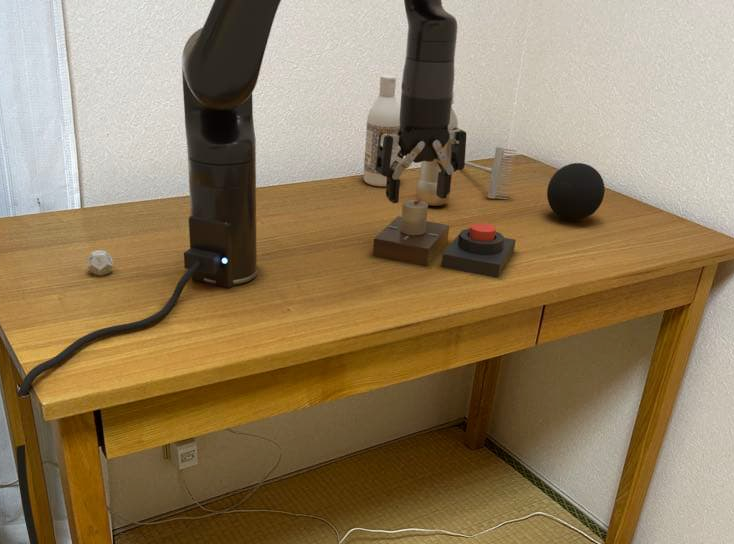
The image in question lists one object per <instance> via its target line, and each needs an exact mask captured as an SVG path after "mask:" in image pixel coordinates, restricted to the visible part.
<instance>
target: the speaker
mask: <svg viewBox="0 0 734 544" xmlns="http://www.w3.org/2000/svg"><path fill="white" fill-rule="evenodd" d="M546 198H547V202H548V205H549V207H550V208H551V210H552V211H553V212H554V213H555V214H556V215H557V216H558V217H560V218H562V219H564V220H568V221H580V220H584V219H587V218H589V217H590V216H592V215H594V213H596V212H597V211H598V209H599V208H600V207H601V205H602V203H603V200H604V198H605V182H604V178H603V177H602V175H601V174H600V172H599V171H598V170H597V169H596V168H594V167H593V166H592V165H589V164H586V163H583V162H573V163H572V162H571V163H569V164H566V165H564V166H562V167H560V168H559V169H558V170H556V172H555V173H554V174H553V175H552V176H551V178H550V180H549V182H548V184H547V190H546Z"/></svg>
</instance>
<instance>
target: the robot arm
mask: <svg viewBox="0 0 734 544" xmlns="http://www.w3.org/2000/svg"><path fill="white" fill-rule="evenodd" d="M281 2H282V0H214V1H213V3H212V5H211V8H210V10H209V13H208V15H207V17H206V20H205V22H204V23H203V26H202V27H201V28H199V29H197V30H196V31H194V32H193V33H192V34H191V35H190V37H188V39H187V41H186V42H185V45H184V47H183V49H182V54H181V79H182V95H183V109H184V110H183V111H184V128H185V139H186V149H187V167H188V189H189V209H190V216H189V217H188V234H189V235H188V236H189V249H187V250H185V251H184V252H183V263H184V269H185V270H186V272H185V273H184V274H183V275H182V277H181V278H180V280H179V281H178V282H177V284H176V287H175V289H174V291H173V293H172V294H171V296H170V298H169V299H168V301H167V302H166V303H165V305H164V306H163V308H162V309H161V310H159V311H158V312H156V313H154V314H152V315H151V316H148V317H146V318H143V319H141V320H137V321H133V322H132V321H131V322H128V323H123V324H117V325H112V326H107V327H103V328H100V329H96V330H94V331H92V332H90V333H87V334H85V335H83V336H82V337H80V338H78V339H77V340H75V341H74V342H72V343H71V344H70V345H68V346H67V347H66V348H65V349H63V350H62V351H61V352H59V353H58V354H57V355H55V356H53V357H52V358H51V359H48V360H46V361H43V362H42V363H39V364H38V365H36V366H34V367H33V368H32V369H30V370H29V372H27V374H26V376H25V377H24V378H23V380H22V382H21V384H20V386H19V389H18V392H17V396H18V397H24V396H26V395H28V393H29V390H30V388H31V386H32V384H33V383H34V381H35V380H36V379H37V378H38V377H39V376H40V375H41V374H43V373H45V372H47V371H49V370H51V369H54V368H55V367H57V366H59V365H60V364H62V363H64V361H66V360H67V359H68V358H70V357H71V356H72V355H73V354H74V353H76V352H77V351H78V350H80V349H81V348H82V347H84V346H86V345H87V344H89V343H91V342H93V341H96V340H98V339H100V338H103V337H107V336H110V335H114V334H120V333H126V332H130V331H136V330H139V329H143V328H146V327H149V326H151V325H154V324H155V323H157V322H159V321H161V320H162V319H164V318H165V317H166V316H167V315H168V314H169V313H170V312H171V311H172V309H173V308H174V306H175V304H176V303H177V302H178V300H179V299H180V297H181V295H182V293H183V290H184V288H185V287H186V285H187V283H188V282H189V280H190V279H191V280H192V281H195V282H200V283H204V284H209V285H212V286H213V285H214V286H219V287H222V288H227V289H229V288H231V287H233V286H237V285H241V284H246V283H248V282H251V281H253V280H254V279H255V278H256V277H257V276H258V261H257V259H258V258H257V257H258V256H257V254H258V253H257V252H258V251H257V248H258V247H257V157H256V156H257V140H256V138H257V137H256V132H255V124H254V113H253V112H254V110H253V103H254V101H253V93H254V90H255V89H256V86H257V83H258V81H259V76H260V72H261V69H262V64H263V60H264V56H265V52H266V49H267V45H268V42H269V38H270V34H271V31H272V28H273V24H274V21H275V18H276V15H277V12H278V9H279V7H280V4H281ZM403 2H404V4H403V5H404V11H405V15H406V20H407V21H406V22H407V36H406V48H405V49H406V50H405V60H404V66H403V70H402V80H401V85H400V86H401V93H400V105H399V106H400V129H399V131H398V133H397V134H386V133H385V132H381V133H380V134H379V140H378V149H377V158H376V167H375V170H376V171H377V172H378V173H380V174H381V175H383V176H385V177H386V178H387V181H386V187H385V196H386V198H387V199H388V201H389V202H391V203H392V204H398V203H399V198H400V185H401V180H400V177H401V176H402V175H403V173H404V171H405V170H406V169H408V168H410V167H411V165H412V163H416V164H417V163H419V164H420V163H422V161H428V162H431V161H433V160H435V162H436V163H437V165H438V166H439V168H440V170H441V172H438V181H437V191H436V194H437V196H438V197H440V198H441V199H443V198H446V197H447V194H449V192H450V185H451V186H452V176H453V174H454V173H455V172H457V171H463V170H464V169H465V166H466V165H465V161H466V150H467V149H466V148H467V132H466V131H465V130H463V129H461V128H459V127H458V128H453V130H450V131H448V125H449V123H450V115H451V105H452V106H453V104H452V96H453V92H454V87H455V85H454V84H455V59H456V58H455V57H456V50H457V49H456V47H457V39H458V21H457V19H456V17H454V15H452V13H449V12H448V11H446V10H445V9H444V7H443V1H442V0H403ZM448 140H449V141H450V143H451V157H450V162H449V158H448V156H447V155H446V153H445V151H444V150H443V148H444V146H445V145H446V143H447V142H448ZM396 143H398V145H399V146H400V148H399V150H398V151H397V152H396V154H395V155H394V157H393V161H392V162H391V154H392V149H394V148H395V144H396ZM390 162H391V164H390ZM15 448H16V451H15V452H16V454H15V455H16V467H17V468H16V469H17V478H18V487H19V494H20V501H21V506H22V512H23V513H22V514H23V518H24V523H25V528H26V532H27V536H28V537H27V538H28V542H29V544H40V543H39V539H38V533H37V529H36V525H35V519H34V514H33V509H32V503H31V496H30V489H29V482H28V481H29V480H28V472H27V471H28V470H27V456H26V444H22V445H18V446H15Z"/></svg>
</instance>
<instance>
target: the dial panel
mask: <svg viewBox="0 0 734 544" xmlns="http://www.w3.org/2000/svg"><path fill="white" fill-rule="evenodd" d="M401 218H402V216H399V215H398V216H396V217H395V218H394V219H393V220H392V221H391V222H390V223H389V224H388V225H387V226H385V227H384V228H383V229H382V230H381V231H380V232H379V233H378V234H377V235H376V236H375V237H374V238H373V247H372V248H373V249H372V257H375V258H381V259H386V260H391V261H396V262H400V263H401V262H402V263H406V264H410V265H411V264H412V265H416V266H420V267H421V266H422V267H426V268H427V267H428V266H429V265H430V264H431V263H432V261H433V260H434V259H435V258H436V257H437V256H438V254H439V253H440V252H441V251H442V250H443V249H444V247H445V246H446V245H447V244H448V242H449V241H448V240H449V235H450V233H449V232H450V224H445V223H439V222H433V221H428V220H426V230H425V233H424V234H422V235H407V234H404V233H402V232H401V230H400V229H401Z"/></svg>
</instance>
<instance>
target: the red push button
mask: <svg viewBox="0 0 734 544" xmlns="http://www.w3.org/2000/svg"><path fill="white" fill-rule="evenodd" d="M469 228H470V232H469V237H470V238H472V239H475V240H480V241H491V240H494V238H495V232H497V231H496V230H497V228H496V227H495V226H494V225H492V224H489V223H484V222H475V223H472V224H471V225H470V226H469Z"/></svg>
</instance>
